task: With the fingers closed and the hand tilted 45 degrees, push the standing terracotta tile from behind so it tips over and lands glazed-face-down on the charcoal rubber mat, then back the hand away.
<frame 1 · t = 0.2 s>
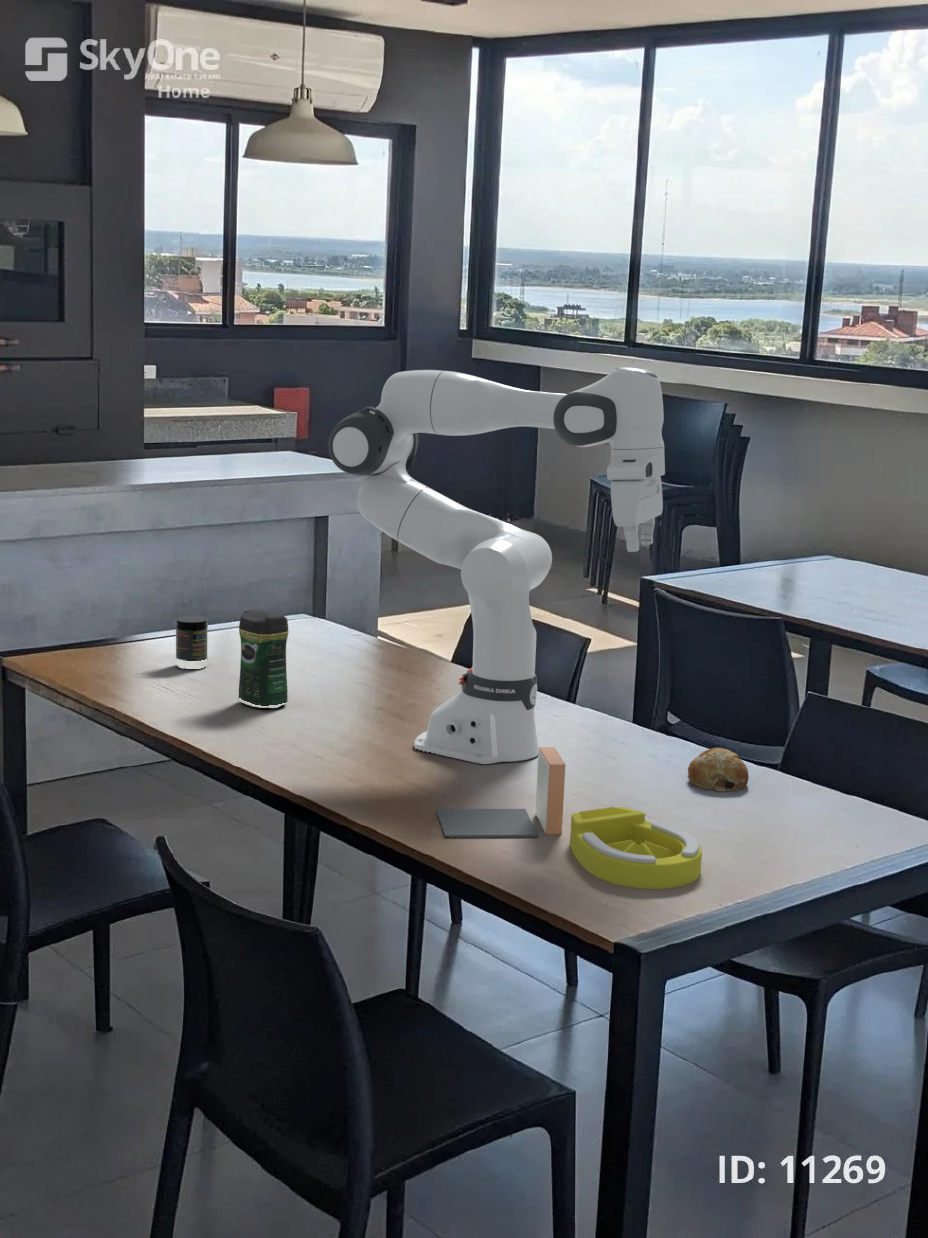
hand: (640, 548, 256), 39 cm above the table, tool pointing down, fingers open, 8 cm apart
terracotta tile: (548, 824, 235), on the table
coffee jar: (263, 705, 298), on the table
rubber mat: (486, 824, 234), on the table
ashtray: (633, 865, 220), on the table
supplement container: (191, 667, 326), on the table
bread roll: (715, 784, 259), on the table
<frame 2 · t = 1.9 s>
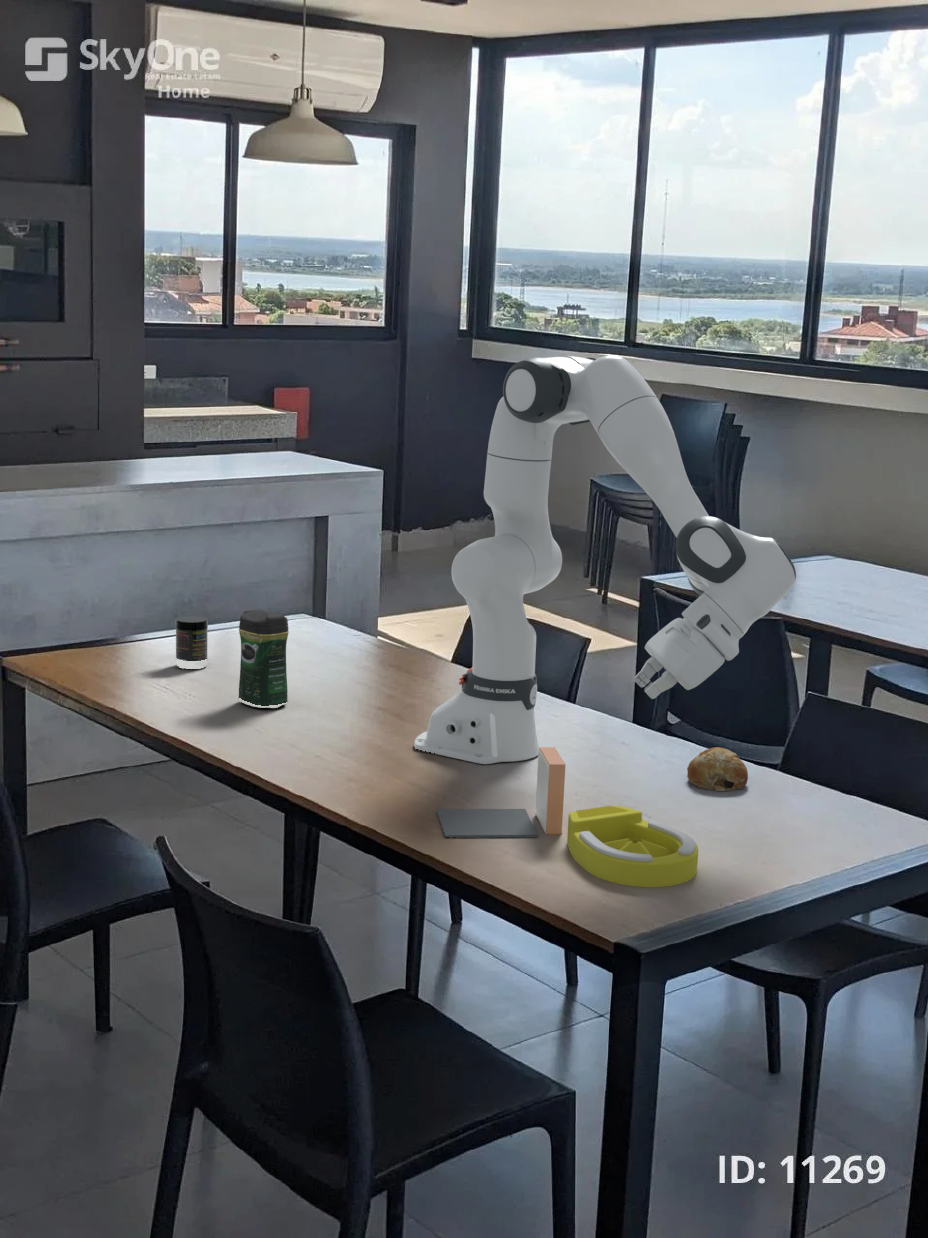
hand: (642, 689, 232), 21 cm above the table, tool tilted 45°, fingers open, 5 cm apart
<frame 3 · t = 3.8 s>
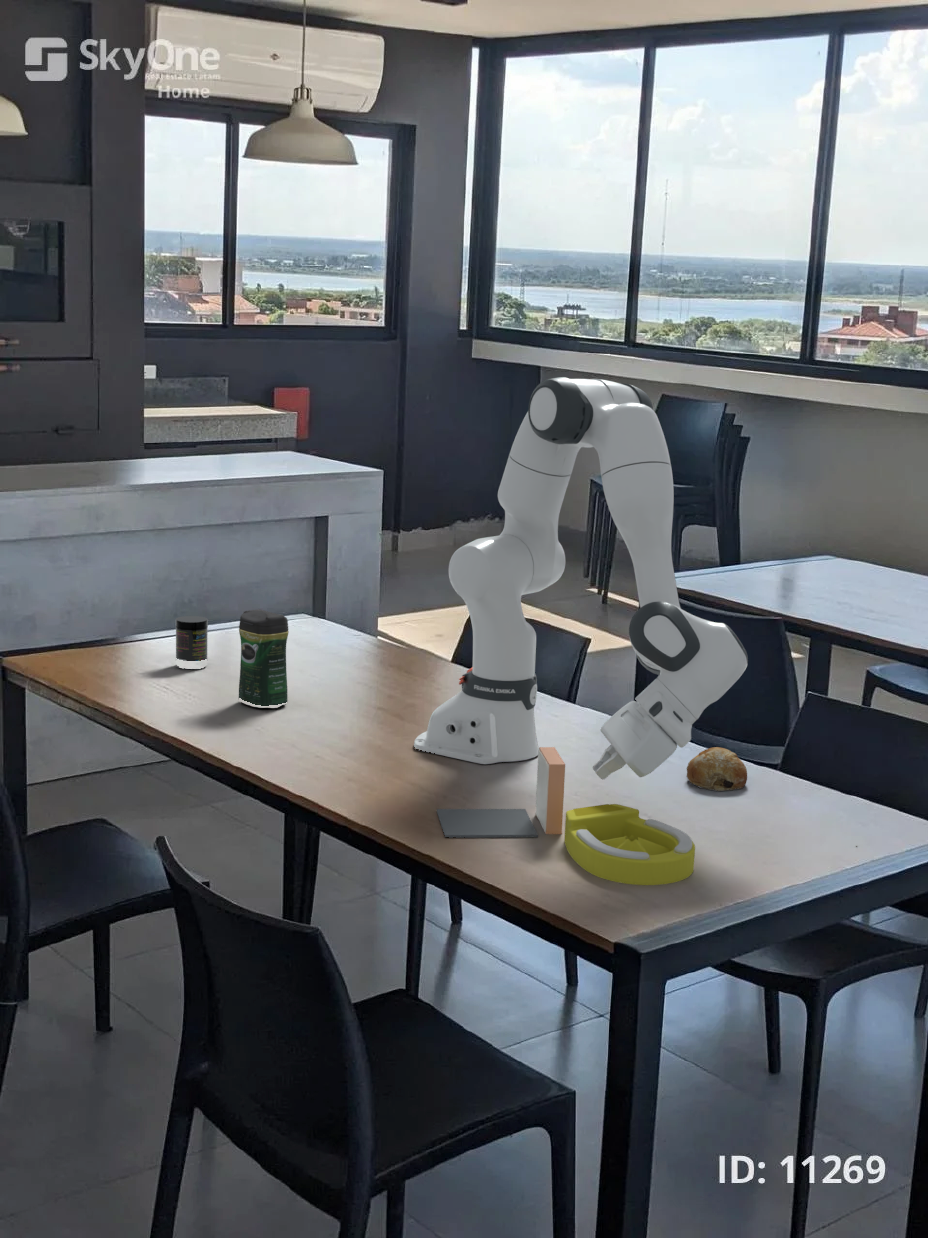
hand: (597, 774, 234), 8 cm above the table, tool tilted 45°, fingers closed
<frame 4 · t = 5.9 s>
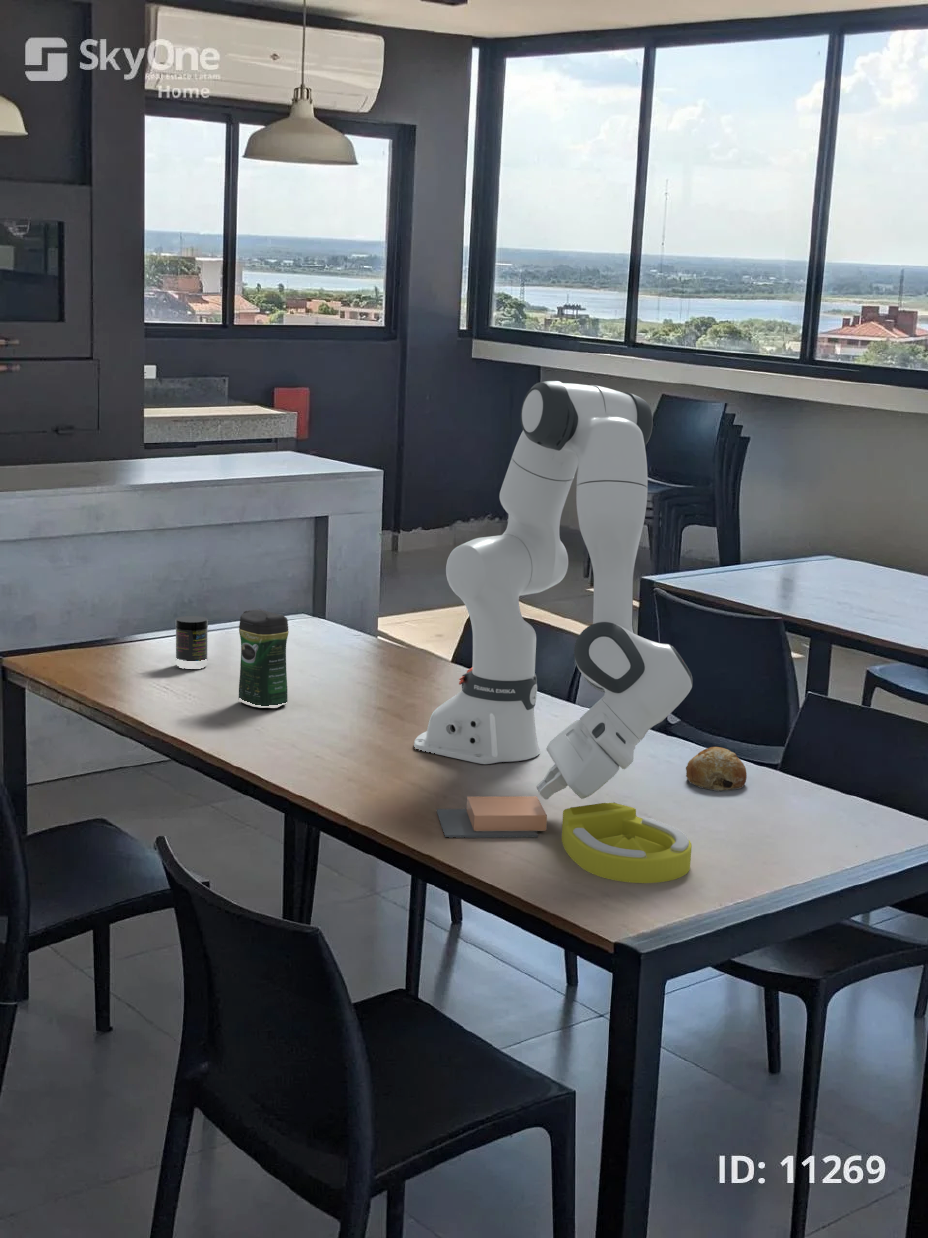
hand: (540, 793, 234), 5 cm above the table, tool tilted 45°, fingers closed
terracotta tile: (541, 813, 235), point 2 cm above the table, tilted 90°, touching rubber mat
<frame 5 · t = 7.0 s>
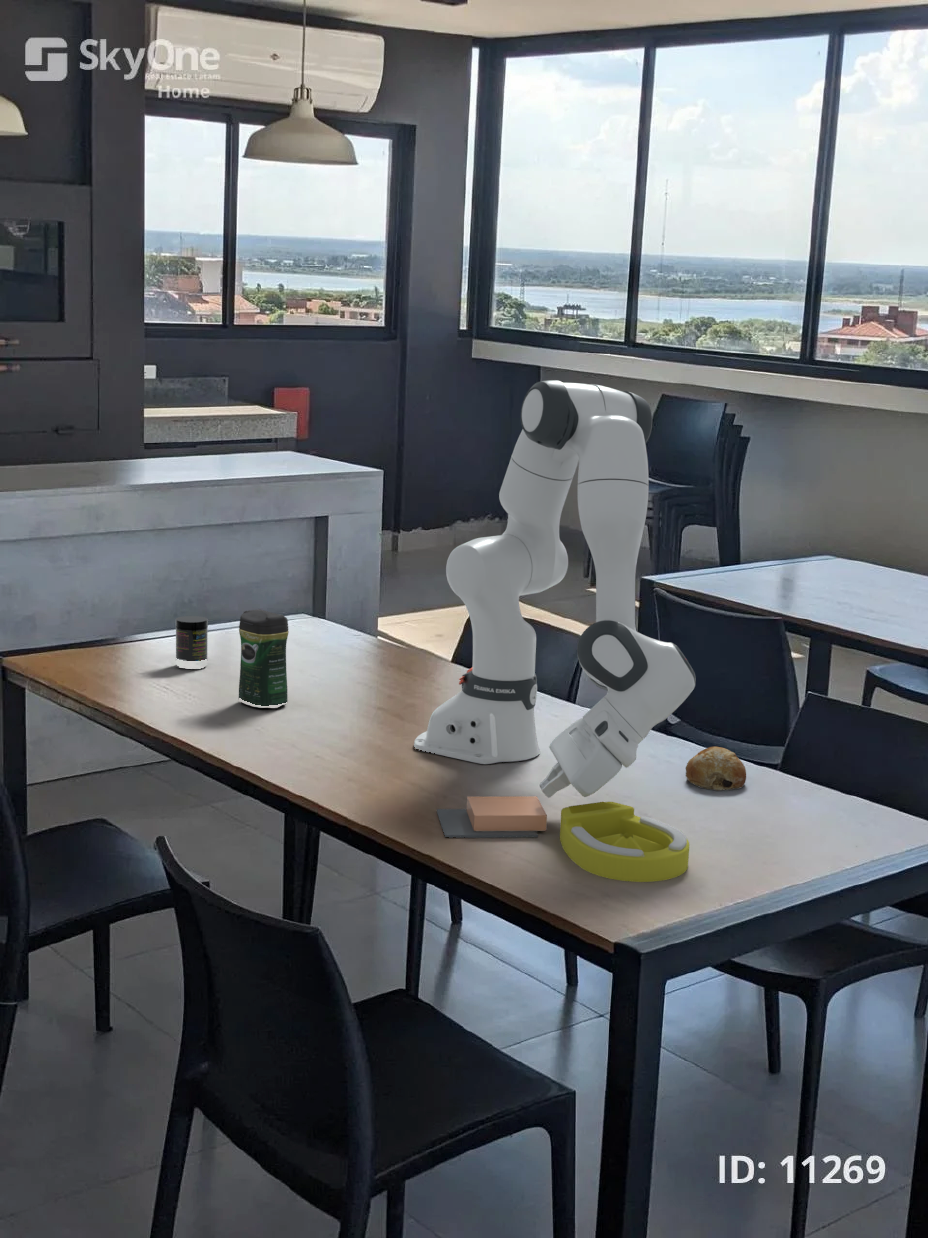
hand: (543, 792, 234), 5 cm above the table, tool tilted 45°, fingers closed
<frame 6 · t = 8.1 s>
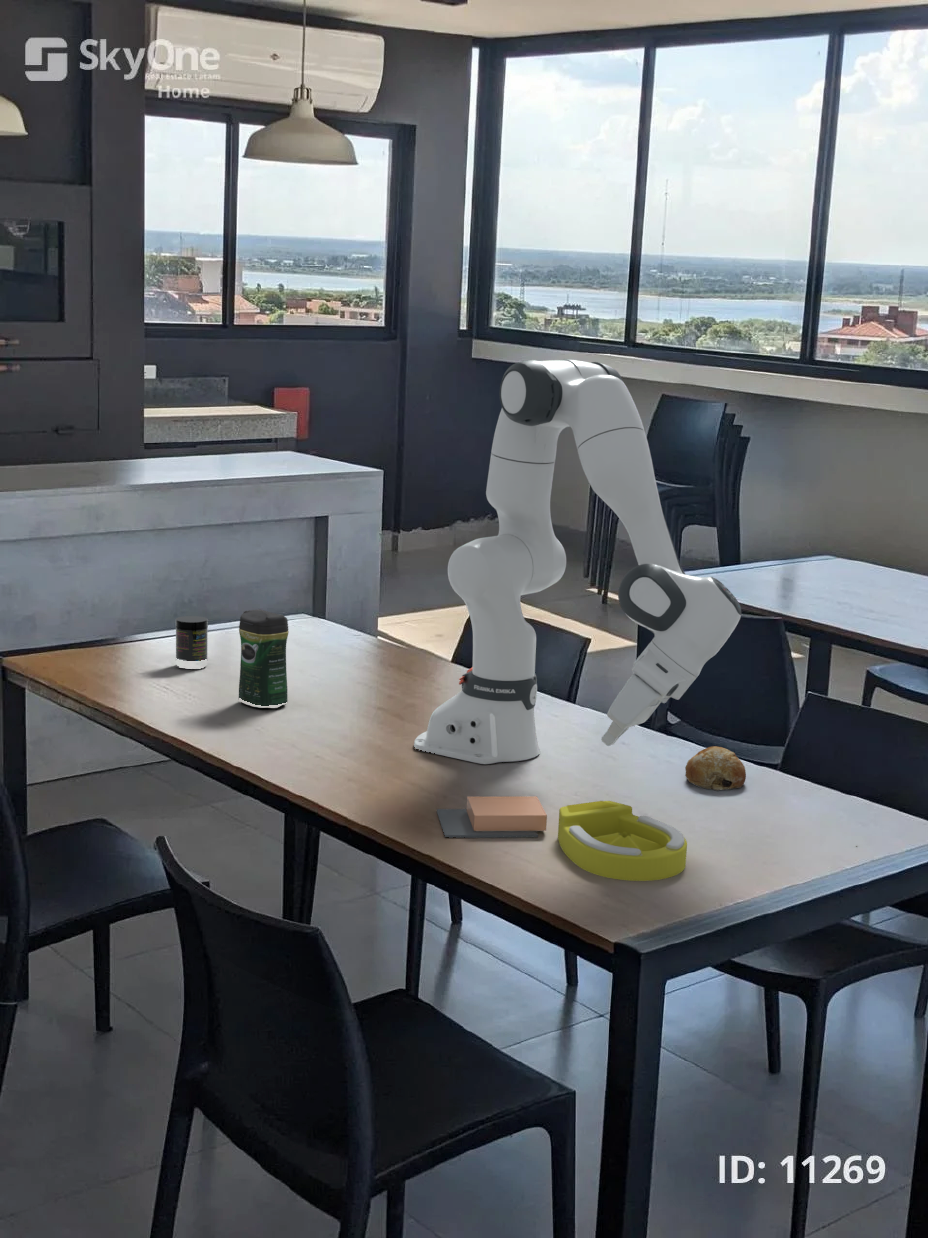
hand: (606, 742, 235), 13 cm above the table, tool tilted 35°, fingers closed
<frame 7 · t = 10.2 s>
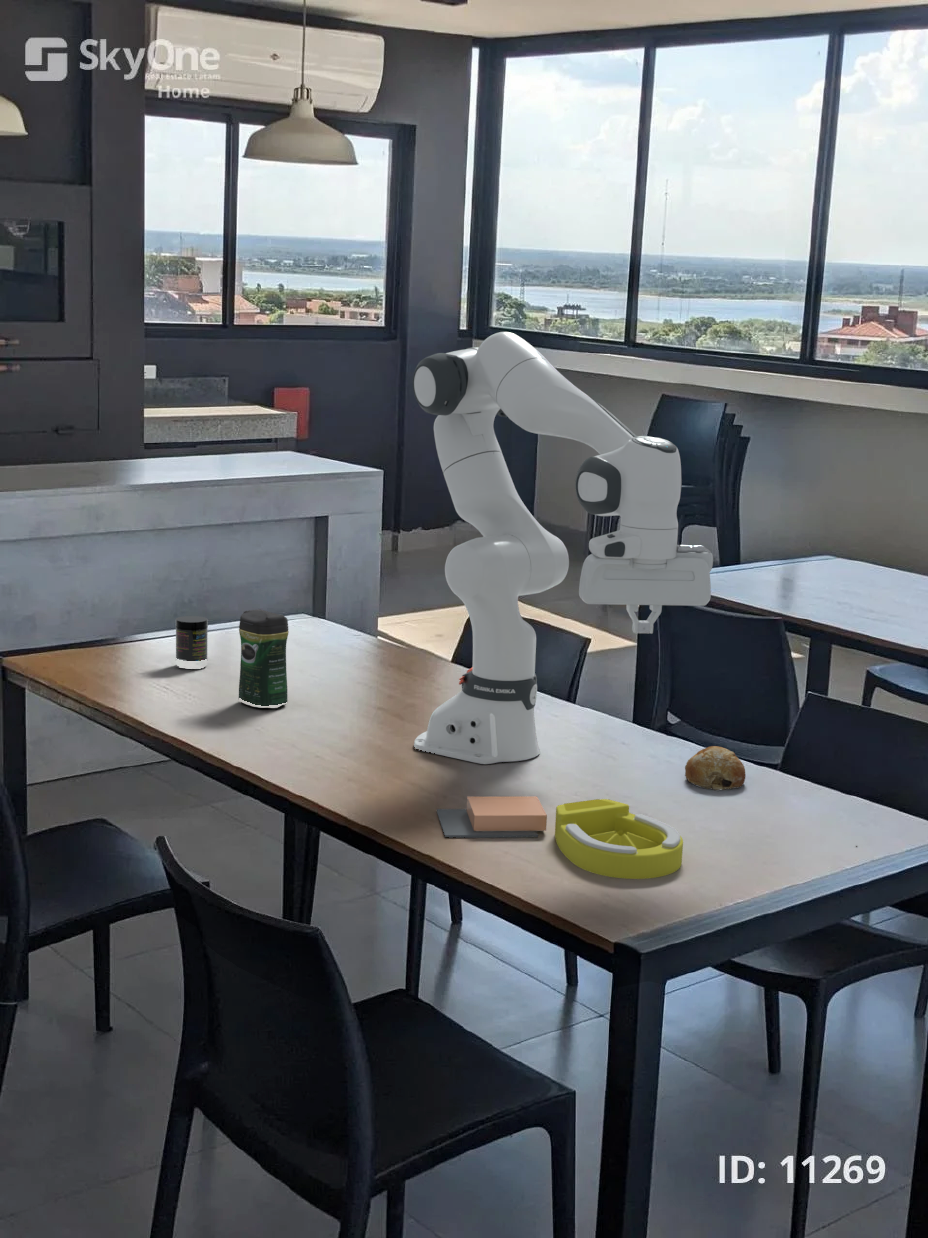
hand: (642, 632, 236), 29 cm above the table, tool pointing down, fingers closed
at the end: terracotta tile tilted 90°; terracotta tile 8.5 cm from the rubber mat (horizontally); terracotta tile point 1.7 cm above the table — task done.
